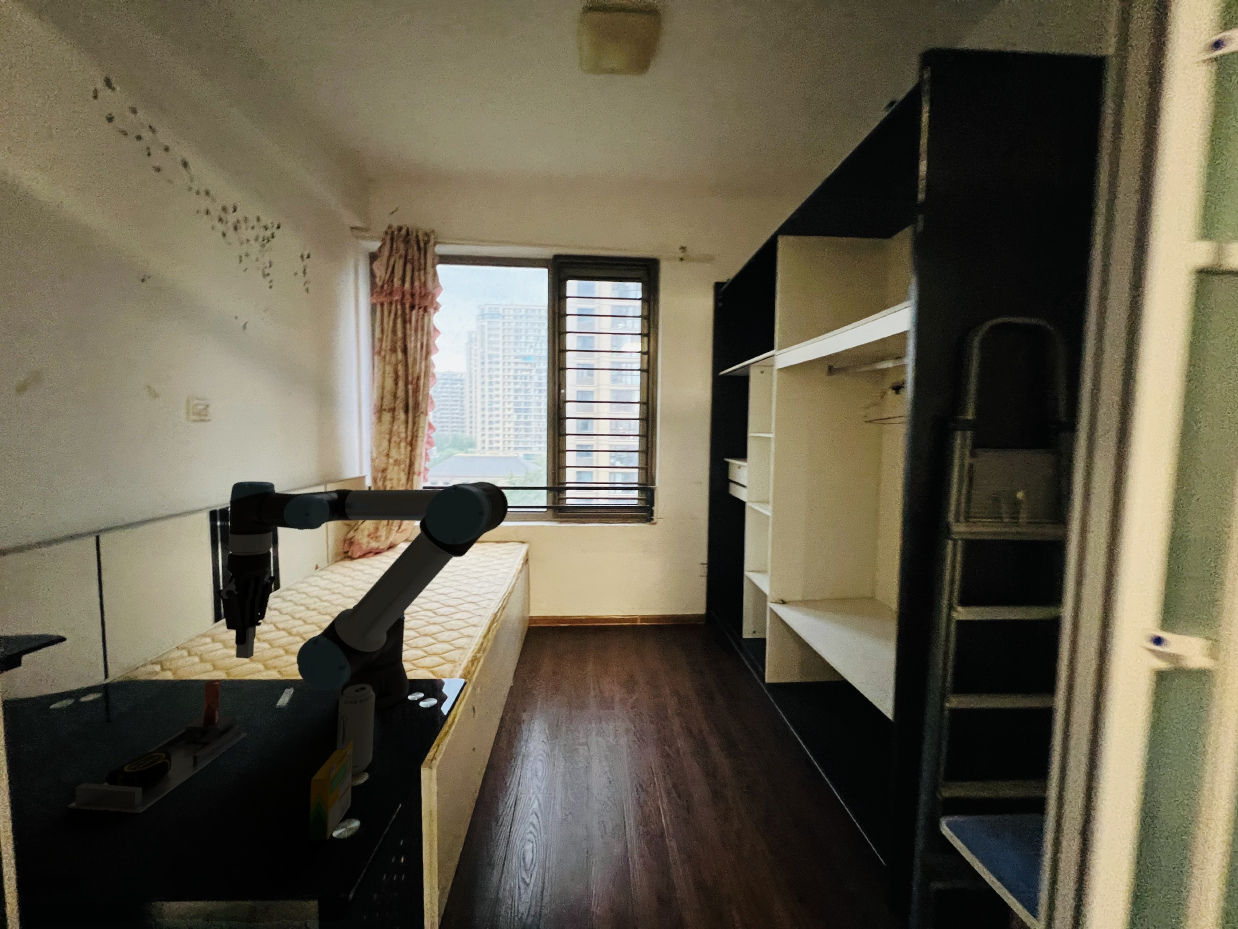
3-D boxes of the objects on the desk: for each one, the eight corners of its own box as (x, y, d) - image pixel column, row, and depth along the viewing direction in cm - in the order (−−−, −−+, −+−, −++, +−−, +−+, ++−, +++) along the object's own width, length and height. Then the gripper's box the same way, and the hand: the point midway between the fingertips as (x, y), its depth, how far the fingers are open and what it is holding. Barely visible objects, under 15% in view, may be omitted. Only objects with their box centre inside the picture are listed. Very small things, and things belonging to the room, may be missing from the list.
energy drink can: (330, 767, 88) (334, 690, 87) (363, 752, 92) (366, 679, 92) (343, 782, 84) (347, 701, 84) (377, 766, 89) (381, 689, 89)
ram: (235, 731, 96) (237, 679, 96) (213, 746, 91) (215, 692, 90) (202, 729, 96) (205, 677, 96) (178, 744, 91) (180, 689, 91)
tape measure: (153, 765, 85) (153, 745, 85) (181, 772, 84) (181, 752, 84) (104, 791, 78) (105, 769, 78) (134, 799, 77) (135, 777, 77)
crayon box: (333, 805, 79) (336, 738, 78) (351, 805, 79) (354, 738, 79) (307, 841, 71) (310, 767, 71) (327, 840, 72) (330, 767, 71)
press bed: (247, 735, 96) (247, 719, 96) (139, 813, 75) (140, 792, 75) (191, 731, 96) (191, 715, 96) (68, 808, 75) (69, 787, 75)
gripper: (257, 544, 108) (252, 643, 108) (206, 556, 95) (200, 669, 95) (288, 546, 108) (283, 645, 108) (241, 559, 95) (236, 671, 95)
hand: (244, 656), depth 102 cm, fingers closed
